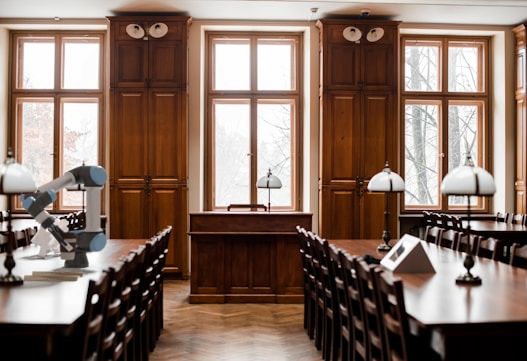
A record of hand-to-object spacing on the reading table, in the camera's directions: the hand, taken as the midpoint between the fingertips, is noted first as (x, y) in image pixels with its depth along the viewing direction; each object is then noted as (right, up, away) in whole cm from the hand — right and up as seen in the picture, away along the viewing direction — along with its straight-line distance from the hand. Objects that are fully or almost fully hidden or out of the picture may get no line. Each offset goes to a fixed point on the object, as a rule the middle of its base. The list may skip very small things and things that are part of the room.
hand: (73, 248), depth 320 cm
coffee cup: (-3, -6, 0) cm, 7 cm away
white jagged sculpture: (-47, -17, +95) cm, 107 cm away
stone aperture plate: (-3, -17, 0) cm, 17 cm away
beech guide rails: (-10, -16, -1) cm, 19 cm away
